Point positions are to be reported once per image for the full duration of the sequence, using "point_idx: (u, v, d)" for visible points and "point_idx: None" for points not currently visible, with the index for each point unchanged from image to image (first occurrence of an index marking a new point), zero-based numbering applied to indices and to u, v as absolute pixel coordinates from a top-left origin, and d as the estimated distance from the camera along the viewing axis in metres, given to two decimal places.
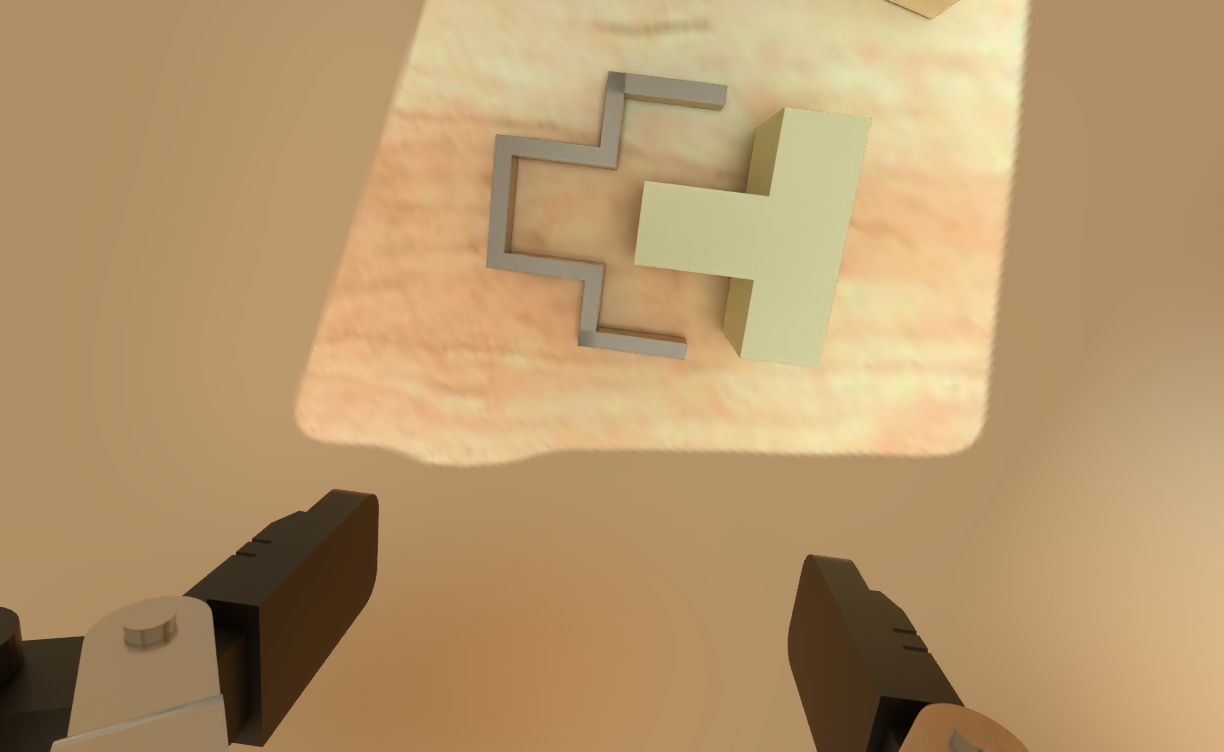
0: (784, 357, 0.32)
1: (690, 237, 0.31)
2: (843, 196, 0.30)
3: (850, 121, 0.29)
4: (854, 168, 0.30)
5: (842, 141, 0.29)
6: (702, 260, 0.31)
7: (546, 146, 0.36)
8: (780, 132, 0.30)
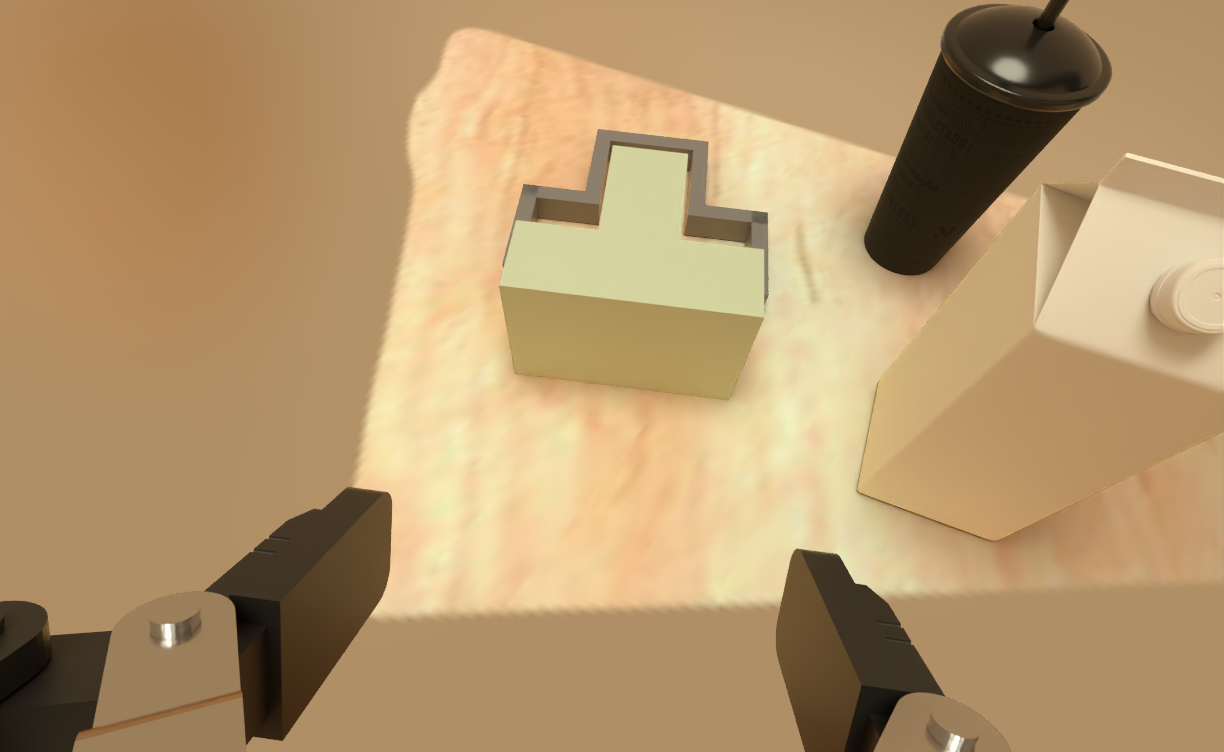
0: (514, 255, 0.29)
1: (639, 183, 0.32)
2: (685, 298, 0.29)
3: (758, 300, 0.29)
4: (713, 305, 0.28)
5: (738, 295, 0.29)
6: (617, 191, 0.32)
7: (701, 171, 0.42)
8: (740, 248, 0.30)
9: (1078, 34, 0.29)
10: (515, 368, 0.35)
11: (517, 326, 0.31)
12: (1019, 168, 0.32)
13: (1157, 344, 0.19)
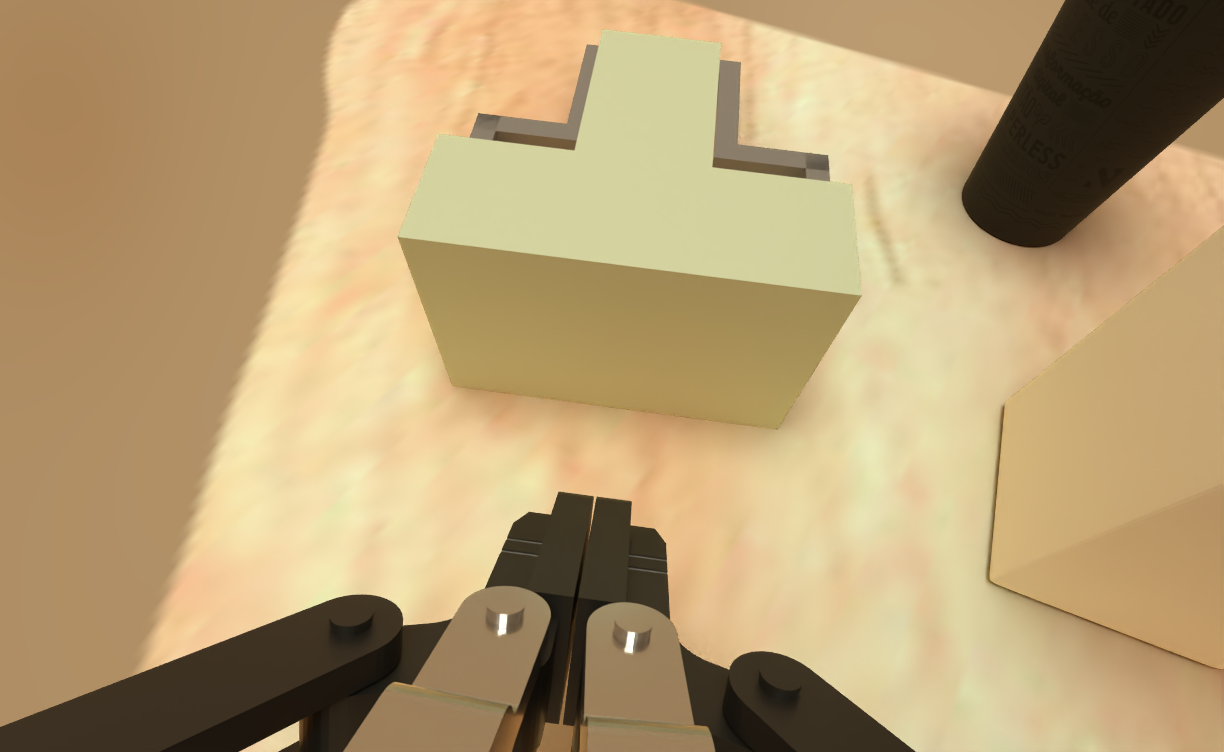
0: (429, 189, 0.17)
1: (643, 83, 0.20)
2: (722, 261, 0.16)
3: (848, 266, 0.17)
4: (772, 275, 0.16)
5: (814, 257, 0.17)
6: (607, 94, 0.20)
7: (732, 99, 0.29)
8: None
9: None
10: (451, 378, 0.23)
11: (441, 310, 0.19)
12: None
13: None
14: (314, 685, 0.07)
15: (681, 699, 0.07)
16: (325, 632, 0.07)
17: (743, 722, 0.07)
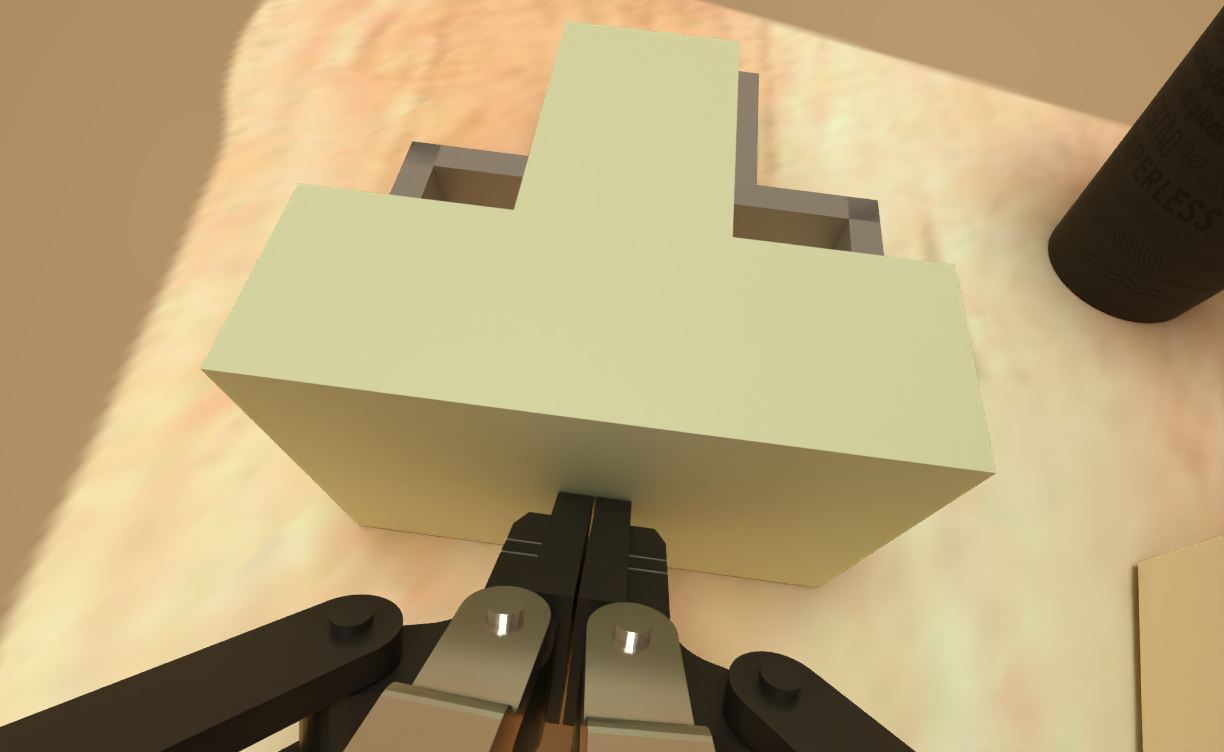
0: (269, 279, 0.10)
1: (624, 101, 0.13)
2: (754, 409, 0.10)
3: (967, 415, 0.10)
4: (840, 434, 0.10)
5: (908, 398, 0.10)
6: (569, 118, 0.13)
7: (748, 123, 0.22)
8: (891, 261, 0.11)
9: None
10: (354, 518, 0.16)
11: (311, 454, 0.12)
12: None
13: None
14: (314, 686, 0.07)
15: (681, 699, 0.07)
16: (325, 632, 0.07)
17: (743, 722, 0.07)
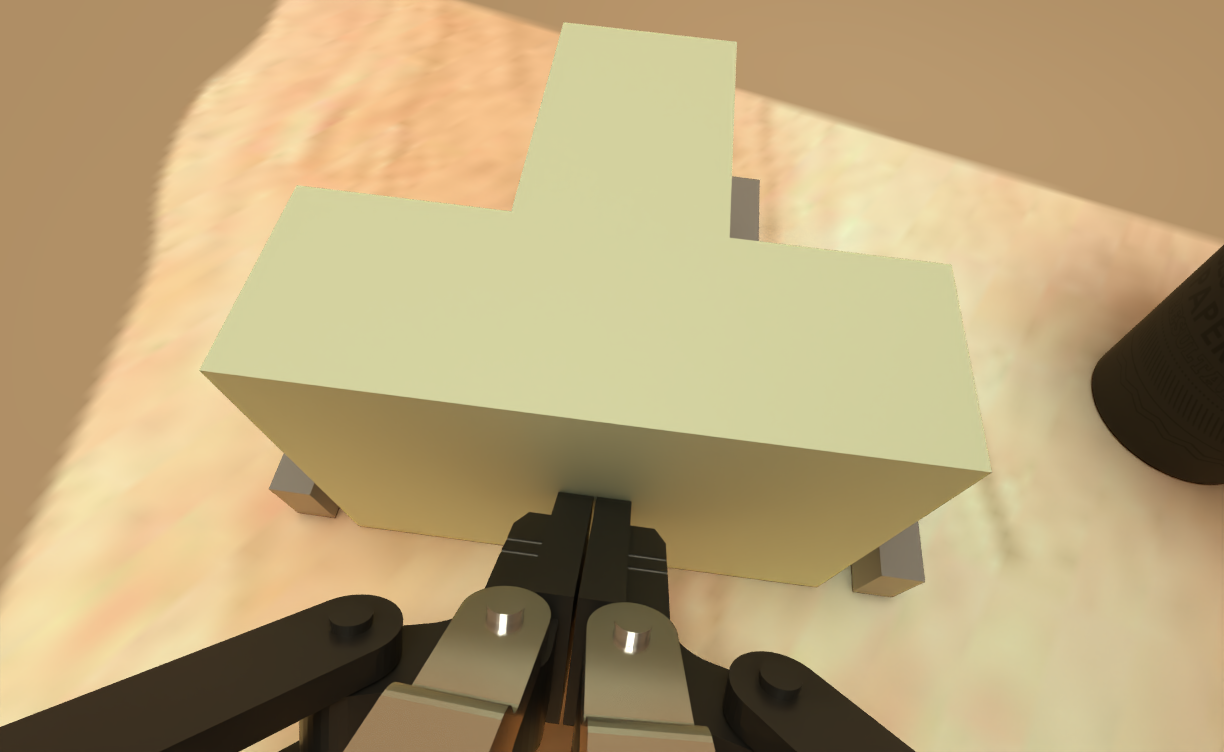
0: (267, 281, 0.11)
1: (622, 102, 0.13)
2: (751, 409, 0.10)
3: (963, 415, 0.10)
4: (837, 434, 0.10)
5: (904, 398, 0.10)
6: (567, 120, 0.13)
7: None
8: None
9: None
10: (353, 519, 0.16)
11: (310, 455, 0.12)
12: None
13: None
14: (314, 686, 0.07)
15: (681, 699, 0.07)
16: (325, 632, 0.07)
17: (743, 722, 0.07)
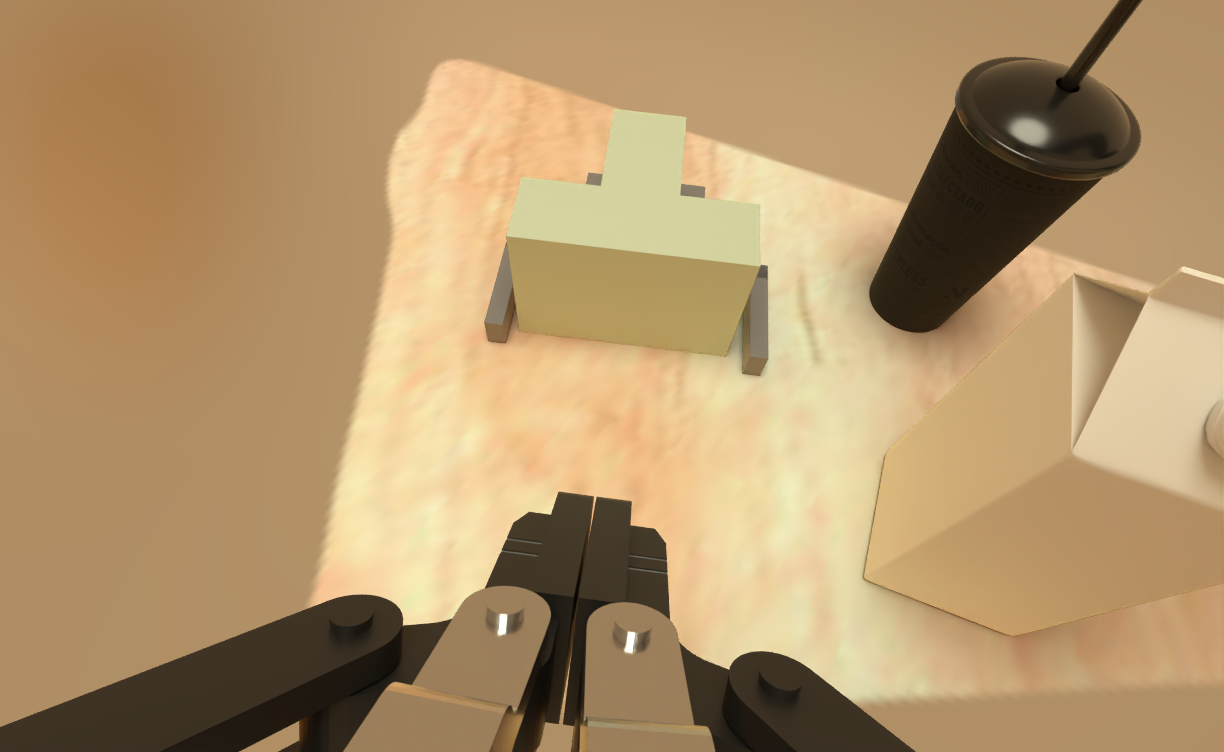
0: (520, 209, 0.31)
1: (639, 144, 0.33)
2: (684, 248, 0.30)
3: (754, 251, 0.30)
4: (712, 255, 0.30)
5: (735, 246, 0.30)
6: (618, 151, 0.33)
7: None
8: (737, 204, 0.32)
9: (1105, 95, 0.27)
10: (519, 325, 0.36)
11: (522, 279, 0.32)
12: (1038, 232, 0.30)
13: (1213, 477, 0.17)
14: (314, 685, 0.07)
15: (681, 699, 0.07)
16: (325, 632, 0.07)
17: (743, 722, 0.07)
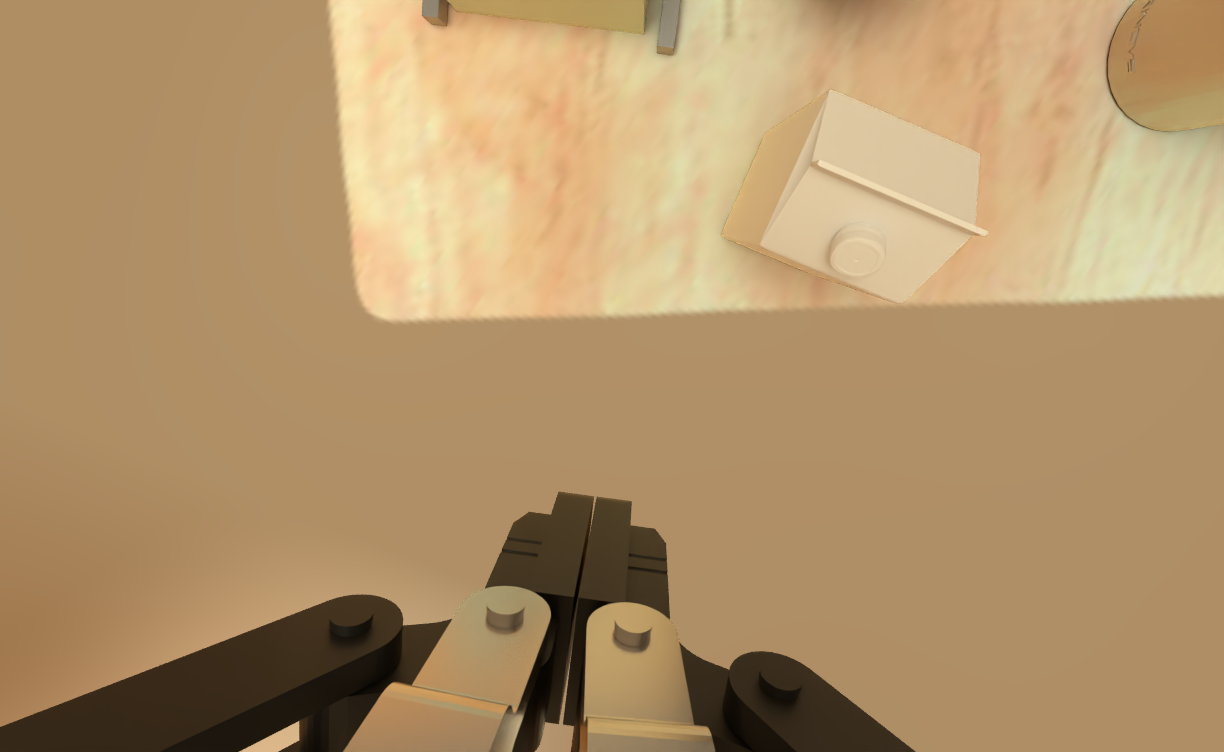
0: None
1: None
2: None
3: None
4: None
5: None
6: None
7: None
8: None
9: None
10: (455, 9, 0.40)
11: None
12: None
13: None
14: (315, 686, 0.07)
15: (680, 699, 0.07)
16: (325, 632, 0.07)
17: (743, 722, 0.07)
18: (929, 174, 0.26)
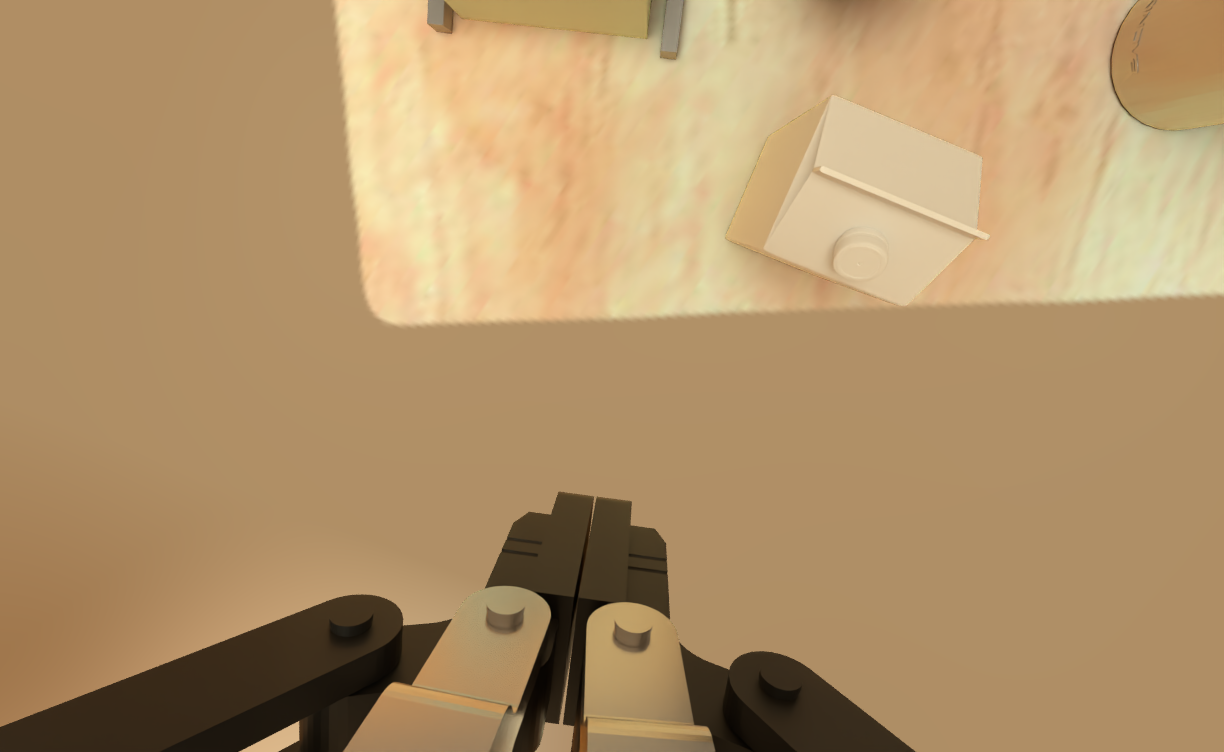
0: None
1: None
2: None
3: None
4: None
5: None
6: None
7: None
8: None
9: None
10: (460, 16, 0.40)
11: None
12: None
13: None
14: (314, 685, 0.07)
15: (681, 699, 0.07)
16: (325, 632, 0.07)
17: (743, 722, 0.07)
18: (931, 178, 0.26)
